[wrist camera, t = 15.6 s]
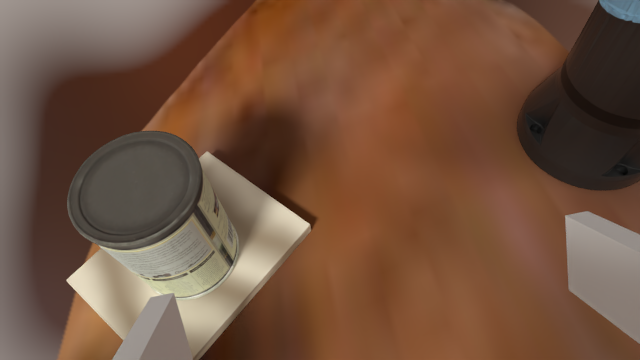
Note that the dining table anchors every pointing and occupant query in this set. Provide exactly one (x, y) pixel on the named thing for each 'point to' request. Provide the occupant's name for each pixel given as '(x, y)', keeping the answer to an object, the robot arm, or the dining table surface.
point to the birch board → (233, 294)
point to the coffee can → (155, 213)
